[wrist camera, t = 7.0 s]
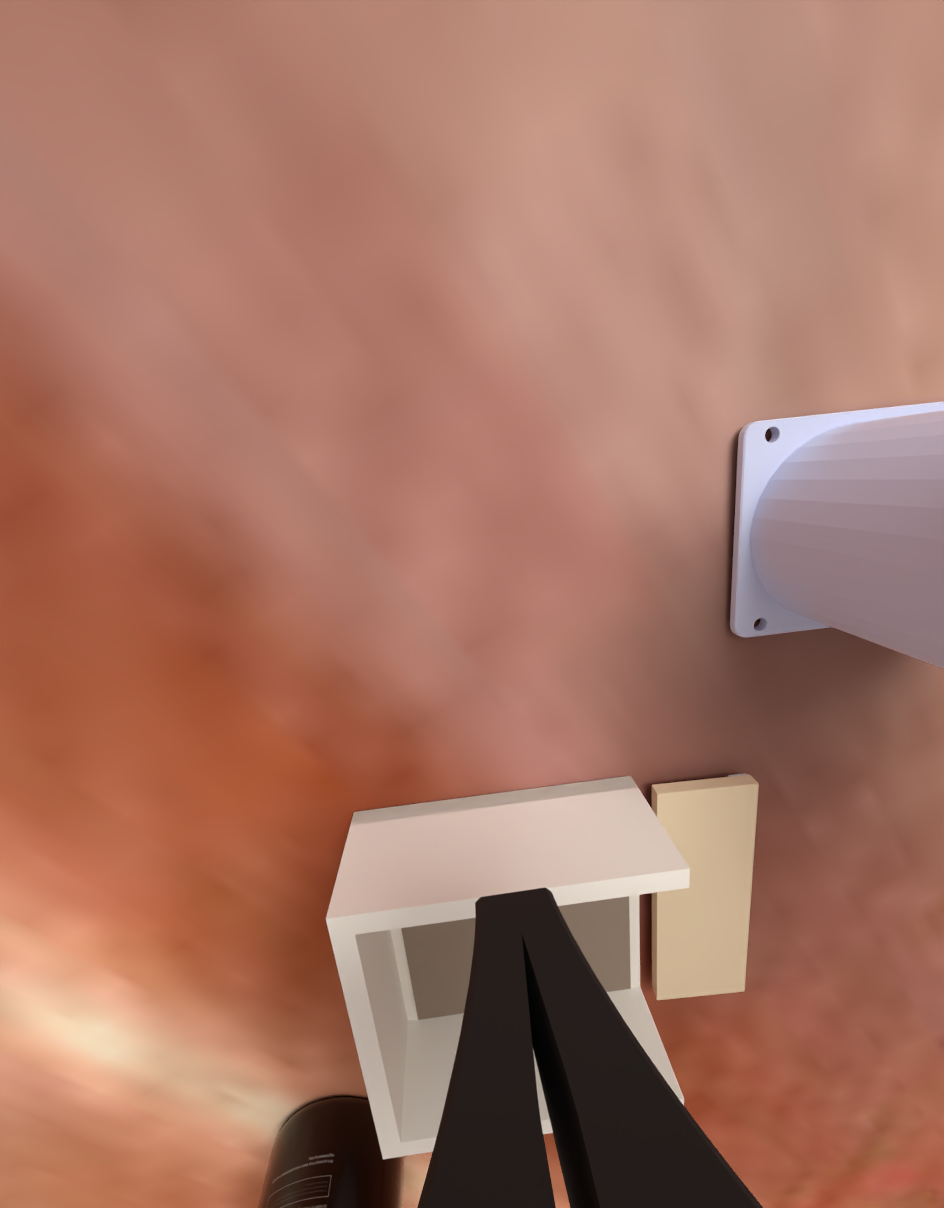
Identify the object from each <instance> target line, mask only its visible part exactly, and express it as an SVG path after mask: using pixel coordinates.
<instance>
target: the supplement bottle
mask: <svg viewBox="0 0 944 1208" xmlns="http://www.w3.org/2000/svg"><path fill="white" fill-rule="evenodd" d="M403 1167H404V1156H402V1157H395V1158H389V1159H383V1157H382V1153H381V1149H380V1145H379V1141H378V1136H377V1132H376V1128H375V1124H374V1120H373V1115H372V1111H371V1107H370V1103H369V1100H365V1099H360V1098H352V1097H339V1098H330V1099H325V1100H321V1101H318V1102H315V1103H312V1104H310V1105H308V1106H306V1107H304V1108H302V1109H301V1110H299V1111H298V1112H297V1113H295V1114H294V1115H293V1116H292V1117H291V1118H290V1119H289V1120H288V1121H287V1122H286V1123H285V1124H284V1126H283V1127H282V1129H281V1130H280V1132H279V1134H278V1136H277V1138H276V1140H275V1143H274V1147H273V1150H272V1154H271V1158H270V1162H269V1166H268V1170H267V1173H266V1177H265V1181H264V1185H263V1190H262V1194H261V1198H260V1202H259V1206H258V1208H402V1194H403Z"/></svg>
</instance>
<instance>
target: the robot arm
mask: <svg viewBox="0 0 944 1208" xmlns="http://www.w3.org/2000/svg"><path fill="white" fill-rule="evenodd" d="M768 429H770V430H771V432H772V437H771V439H770V440H769V442H768V441H767V440H766V439H765V433H766V431H767V430H768ZM759 618H760V623H759V625H758V626H757V627H754V623H755V621H756V620H757V619H759ZM830 627H833V628H836V629H838V630H841V631H844V632H846V633H849V634H852V635H854V636H857V637H860V638H862V639H865V640H868V641H870V642H873V643H876V644H878V645H881V646H884V647H886V648H889V649H892V650H894V651H897V652H900V653H902V654H905V655H908V656H910V657H913V658H915V659H918V660H921V661H923V662H926V663H929V664H931V665H934V666H937V667H939V668H942V669H944V401H943V402H934V403H924V404H915V405H905V406H896V407H886V408H877V409H867V410H858V411H849V412H839V413H830V414H820V415H811V416H801V417H792V418H782V419H773V420H763V421H756V422H751V423H748V424H747V425H745V426H744V427H743V428H742V430H741V431H740V433H739V438H738V457H737V480H736V502H735V524H734V546H733V568H732V591H731V613H730V628H731V630H732V632H733V633H734V634H736V635H738V636H740V637H744V638H748V637H756V636H764V635H772V634H781V633H789V632H797V631H805V630H813V629H822V628H830ZM475 915H476V917H475V937H474V948H473V957H472V965H471V973H470V980H469V986H468V992H467V998H466V1003H465V1009H464V1015H463V1021H462V1026H461V1032H460V1037H459V1042H458V1047H457V1052H456V1056H455V1061H454V1065H453V1069H452V1074H451V1078H450V1083H449V1087H448V1092H447V1096H446V1101H445V1105H444V1109H443V1114H442V1118H441V1122H440V1126H439V1130H438V1134H437V1138H436V1142H435V1145H434V1149H433V1153H432V1157H431V1161H430V1164H429V1168H428V1172H427V1176H426V1179H425V1183H424V1186H423V1190H422V1194H421V1197H420V1201H419V1204H418V1208H556V1207H555V1201H554V1196H553V1190H552V1184H551V1178H550V1172H549V1166H548V1161H547V1155H546V1149H545V1143H544V1137H543V1131H542V1125H541V1119H540V1111H539V1103H538V1095H537V1085H536V1075H535V1064H534V1054H535V1058H536V1063H537V1067H538V1071H539V1075H540V1080H541V1084H542V1088H543V1093H544V1097H545V1101H546V1105H547V1110H548V1114H549V1118H550V1122H551V1126H552V1131H553V1135H554V1139H555V1143H556V1148H557V1152H558V1156H559V1160H560V1165H561V1169H562V1173H563V1177H564V1182H565V1186H566V1190H567V1194H568V1198H569V1203H570V1207H571V1208H763V1207H762V1206H761V1205H760V1203H759V1202H758V1201H757V1200H756V1198H755V1197H754V1196H753V1195H752V1193H751V1192H750V1191H749V1190H748V1188H747V1187H746V1186H745V1185H744V1183H743V1182H742V1181H741V1180H740V1178H739V1177H738V1176H737V1175H736V1173H735V1172H734V1171H733V1170H732V1168H731V1167H730V1166H729V1164H728V1163H727V1162H726V1161H725V1159H724V1158H723V1157H722V1155H721V1154H720V1153H719V1151H718V1150H717V1149H716V1148H715V1146H714V1145H713V1144H712V1142H711V1141H710V1140H709V1138H708V1137H707V1136H706V1135H705V1133H704V1132H703V1131H702V1129H701V1128H700V1127H699V1125H698V1124H697V1123H696V1121H695V1120H694V1119H693V1117H692V1116H691V1115H690V1113H689V1112H688V1111H687V1109H686V1108H685V1107H684V1105H683V1104H682V1102H681V1101H680V1100H679V1098H678V1097H677V1096H676V1094H675V1093H674V1091H673V1090H672V1089H671V1087H670V1086H669V1085H668V1083H667V1082H666V1080H665V1079H664V1077H663V1076H662V1075H661V1073H660V1072H659V1070H658V1069H657V1067H656V1066H655V1065H654V1063H653V1062H652V1060H651V1059H650V1057H649V1056H648V1055H647V1053H646V1052H645V1050H644V1049H643V1047H642V1046H641V1045H640V1043H639V1042H638V1040H637V1039H636V1037H635V1036H634V1034H633V1033H632V1031H631V1030H630V1028H629V1027H628V1025H627V1024H626V1022H625V1021H624V1019H623V1018H622V1016H621V1014H620V1013H619V1011H618V1010H617V1008H616V1006H615V1005H614V1003H613V1002H612V1000H611V999H610V997H609V995H608V994H607V992H606V991H605V989H604V988H603V986H602V984H601V983H600V981H599V980H598V978H597V976H596V975H595V973H594V971H593V970H592V968H591V966H590V965H589V963H588V961H587V960H586V958H585V956H584V954H583V953H582V951H581V949H580V947H579V946H578V944H577V942H576V940H575V939H574V937H573V935H572V933H571V931H570V929H569V927H568V925H567V924H566V922H565V920H564V918H563V916H562V914H561V912H560V909H559V907H558V905H557V903H556V901H555V899H554V896H553V894H552V892H551V891H550V890H548V889H547V888H546V887H545V888H538V889H531V890H525V891H518V892H511V893H504V894H498V895H491V896H484V897H480V898H479V899H478V900H477V901H476V903H475ZM533 1050H534V1053H533Z"/></svg>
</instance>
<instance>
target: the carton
mask: <svg viewBox="0 0 944 1208" xmlns="http://www.w3.org/2000/svg"><path fill="white" fill-rule="evenodd" d="M689 880H690V868H689V866H688V865H687V863H686V862H685V860H684V859H683V857H682V855H681V854H680V852H679V851H678V849H677V848H676V846H675V844H674V843H673V841H672V840H671V838H670V837H669V835H668V834H667V832H666V830H665V829H664V827H663V826H662V824H661V823H660V821H659V819H658V818H657V816H656V815H655V813H654V812H653V810H652V809H651V807H650V805H649V804H648V802H647V801H646V799H645V798H644V796H643V794H642V793H641V791H640V790H639V788H638V787H637V785H636V783H635V782H634V780H633V779H632V777H631V776H624V777H616V778H609V779H601V780H594V781H586V782H578V783H571V784H563V785H556V786H548V787H540V788H533V789H525V790H517V791H510V792H502V793H495V794H487V795H479V796H472V797H464V798H456V799H449V800H441V801H434V802H426V803H418V804H411V805H403V806H396V807H388V808H380V809H373V810H365V811H357V812H354V814H353V817H352V821H351V825H350V829H349V833H348V836H347V840H346V844H345V848H344V852H343V855H342V859H341V863H340V867H339V871H338V874H337V878H336V882H335V886H334V890H333V893H332V897H331V901H330V905H329V909H328V912H327V916H326V922H327V926H328V931H329V935H330V939H331V943H332V947H333V952H334V956H335V960H336V964H337V968H338V973H339V977H340V981H341V985H342V989H343V994H344V998H345V1002H346V1006H347V1010H348V1015H349V1019H350V1023H351V1027H352V1031H353V1036H354V1040H355V1044H356V1048H357V1052H358V1057H359V1061H360V1065H361V1069H362V1073H363V1078H364V1082H365V1086H366V1090H367V1094H368V1099H369V1103H370V1107H371V1111H372V1115H373V1120H374V1124H375V1128H376V1132H377V1136H378V1141H379V1145H380V1149H381V1153H382V1157H383V1159H389V1158H395V1157H402V1156H408V1155H414V1154H421V1153H427V1152H433V1149H434V1145H435V1142H436V1138H437V1134H438V1130H439V1126H440V1122H441V1118H442V1114H443V1109H444V1105H445V1101H446V1096H447V1092H448V1087H449V1083H450V1078H451V1074H452V1069H453V1065H454V1061H455V1056H456V1052H457V1047H458V1042H459V1037H460V1032H461V1026H462V1021H463V1015H464V1009H465V1003H466V998H467V992H468V986H469V980H470V973H471V965H472V957H473V948H474V937H475V917H476V915H475V903H476V901H477V900H478V899H479V898H480V897H484V896H491V895H498V894H504V893H511V892H518V891H525V890H531V889H538V888H545V887H546V888H547V889H548V890H550V891H551V892H552V894H553V896H554V899H555V901H556V903H557V905H558V907H559V909H560V912H561V914H562V916H563V918H564V920H565V922H566V924H567V925H568V927H569V929H570V931H571V933H572V935H573V937H574V939H575V940H576V942H577V944H578V946H579V947H580V949H581V951H582V953H583V954H584V956H585V958H586V960H587V961H588V963H589V965H590V966H591V968H592V970H593V971H594V973H595V975H596V976H597V978H598V980H599V981H600V983H601V984H602V986H603V988H604V989H605V991H606V992H607V994H608V995H609V997H610V999H611V1000H612V1002H613V1003H614V1005H615V1006H616V1008H617V1010H618V1011H619V1013H620V1014H621V1016H622V1018H623V1019H624V1021H625V1022H626V1024H627V1025H628V1027H629V1028H630V1030H631V1031H632V1033H633V1034H634V1036H635V1037H636V1039H637V1040H638V1042H639V1043H640V1045H641V1046H642V1047H643V1049H644V1050H645V1052H646V1053H647V1055H648V1056H649V1057H650V1059H651V1060H652V1062H653V1063H654V1065H655V1066H656V1067H657V1069H658V1070H659V1072H660V1073H661V1075H662V1076H663V1077H664V1079H665V1080H666V1082H667V1083H668V1085H669V1086H670V1087H671V1089H672V1090H673V1091H674V1093H675V1094H676V1096H677V1097H678V1098H679V1100H680V1101H681V1102H682V1104H683V1105H684V1097H683V1094H682V1092H681V1089H680V1087H679V1084H678V1082H677V1079H676V1077H675V1074H674V1071H673V1069H672V1066H671V1064H670V1061H669V1059H668V1056H667V1054H666V1051H665V1049H664V1046H663V1043H662V1041H661V1038H660V1036H659V1033H658V1031H657V1028H656V1026H655V1023H654V1020H653V1018H652V1015H651V1013H650V1010H649V1008H648V1005H647V1003H646V1000H645V998H644V995H643V992H642V990H641V987H640V924H639V895H641V894H648V893H655V892H662V891H670V890H677V889H684V888H689ZM533 1053H534V1050H533ZM534 1064H535V1075H536V1085H537V1095H538V1103H539V1111H540V1119H541V1125H542V1131H543V1134H548V1133H553V1131H552V1126H551V1122H550V1118H549V1114H548V1110H547V1105H546V1101H545V1097H544V1093H543V1088H542V1084H541V1080H540V1075H539V1071H538V1067H537V1063H536V1058H535V1054H534Z"/></svg>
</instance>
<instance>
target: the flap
mask: <svg viewBox="0 0 944 1208" xmlns="http://www.w3.org/2000/svg"><path fill="white" fill-rule="evenodd" d="M758 787H759V783H758V782H757V781H756V780H755V779H754V778H753V777H752V776H751V775H747V774H746V773H745V774H735V775H728V777H722V778H712V779H702V780H693V781H683V782H673V783H664V784H654V785H652V810H653V812H654V813H655V815H656V816H657V818H658V819H659V821H660V823H661V824H662V826H663V827H664V829H665V830H666V832H667V834H668V835H669V837H670V838H671V840H672V841H673V843H674V844H675V846H676V848H677V849H678V851H679V852H680V854H681V855H682V857H683V859H684V860H685V862H686V863H687V865H688V866H689V868H690V880H689V888H684V889H677V890H670V891H662V892H655V893H652V988H653V991H654V994H655V997H656V999H657V1000H665V999H675V998H685V997H695V996H705V995H715V994H725V993H734V992H744V990H745V976H746V961H747V947H748V932H749V918H750V903H751V889H752V874H753V859H754V845H755V830H756V816H757V801H758Z"/></svg>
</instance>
